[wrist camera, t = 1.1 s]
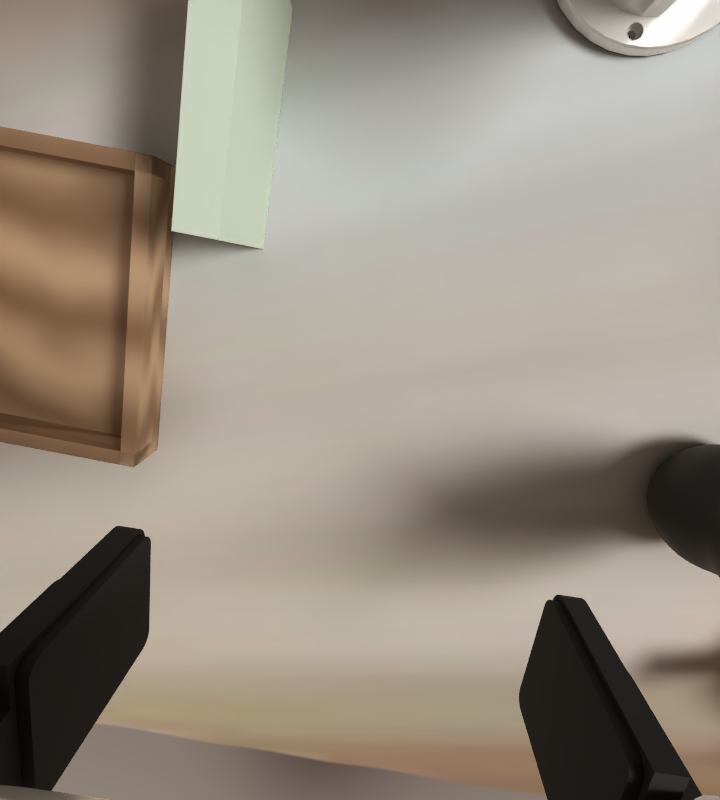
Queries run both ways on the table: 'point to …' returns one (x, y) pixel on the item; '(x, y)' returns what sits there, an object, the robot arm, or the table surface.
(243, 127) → the door
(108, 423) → the wooden divided tray
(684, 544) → the cola bottle
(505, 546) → the table surface
